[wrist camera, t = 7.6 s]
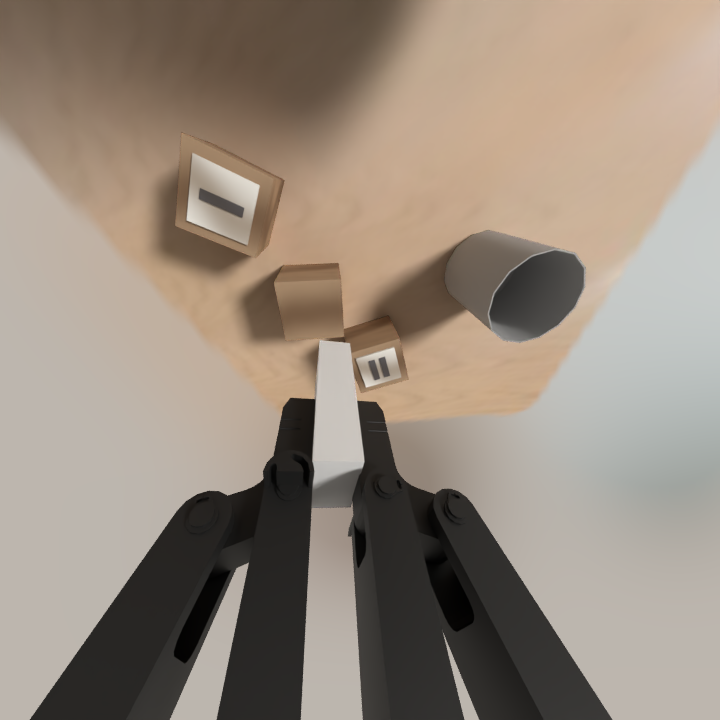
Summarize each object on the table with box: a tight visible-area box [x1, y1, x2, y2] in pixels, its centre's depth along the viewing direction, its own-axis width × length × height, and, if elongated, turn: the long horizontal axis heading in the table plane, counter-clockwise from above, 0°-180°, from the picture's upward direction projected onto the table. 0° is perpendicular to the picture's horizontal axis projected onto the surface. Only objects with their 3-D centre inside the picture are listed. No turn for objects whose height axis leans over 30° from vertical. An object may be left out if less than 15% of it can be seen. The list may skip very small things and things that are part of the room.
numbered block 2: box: [344, 316, 409, 393], centre depth 32 cm, size 6×6×6 cm
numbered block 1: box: [175, 132, 284, 258], centre depth 22 cm, size 6×6×6 cm
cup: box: [444, 230, 586, 343], centre depth 26 cm, size 8×8×10 cm
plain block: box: [274, 263, 344, 341], centre depth 27 cm, size 6×6×6 cm
